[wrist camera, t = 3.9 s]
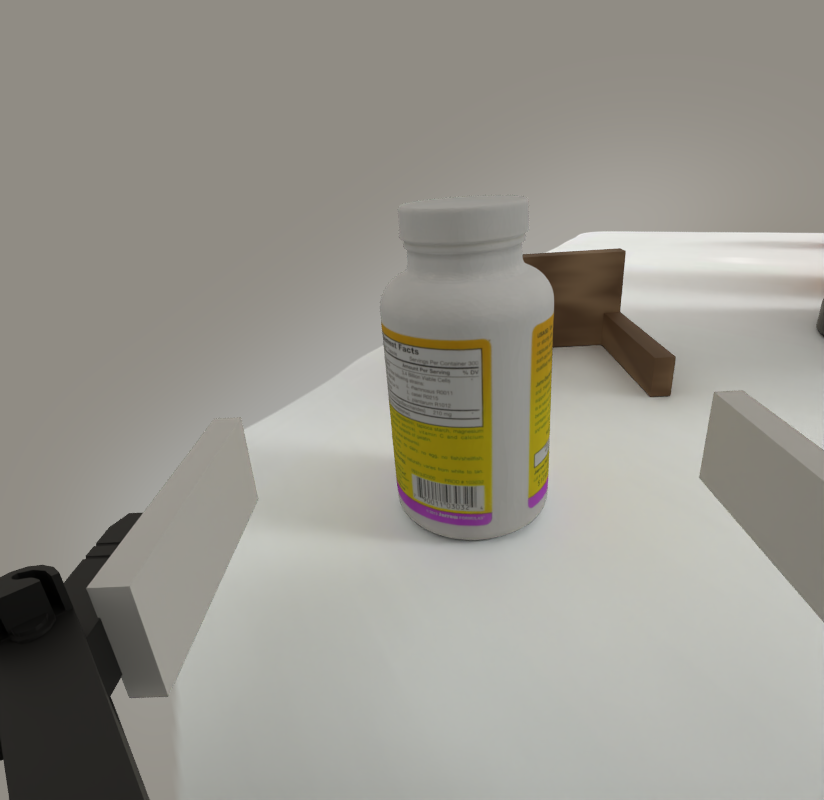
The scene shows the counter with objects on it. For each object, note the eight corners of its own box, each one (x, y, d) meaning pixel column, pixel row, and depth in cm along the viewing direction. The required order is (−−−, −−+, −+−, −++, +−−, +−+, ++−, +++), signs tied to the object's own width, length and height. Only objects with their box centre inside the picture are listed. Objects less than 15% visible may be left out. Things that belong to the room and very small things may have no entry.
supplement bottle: (502, 451, 29) (504, 189, 24) (577, 522, 23) (600, 196, 18) (379, 481, 27) (351, 203, 22) (428, 566, 21) (405, 216, 16)
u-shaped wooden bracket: (612, 338, 44) (620, 248, 41) (670, 395, 34) (686, 281, 31) (461, 347, 44) (459, 258, 42) (474, 405, 34) (472, 293, 31)
